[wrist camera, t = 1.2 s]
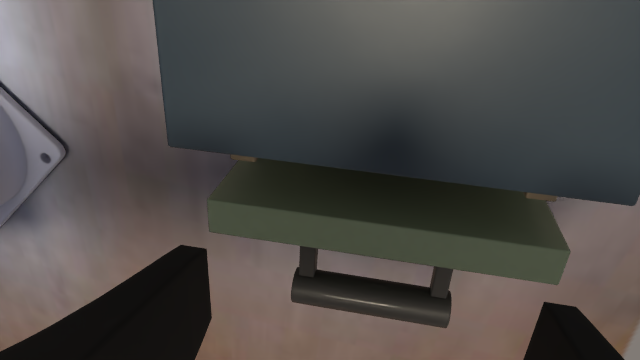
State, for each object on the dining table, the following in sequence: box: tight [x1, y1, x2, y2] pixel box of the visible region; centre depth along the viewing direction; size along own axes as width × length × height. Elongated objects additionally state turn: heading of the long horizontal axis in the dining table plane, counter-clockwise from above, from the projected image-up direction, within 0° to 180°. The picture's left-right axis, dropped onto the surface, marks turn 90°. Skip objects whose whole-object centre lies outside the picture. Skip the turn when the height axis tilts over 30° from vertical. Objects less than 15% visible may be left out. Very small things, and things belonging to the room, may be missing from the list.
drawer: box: [207, 154, 570, 328], centre depth 15 cm, size 17×10×6 cm, turn 177°
